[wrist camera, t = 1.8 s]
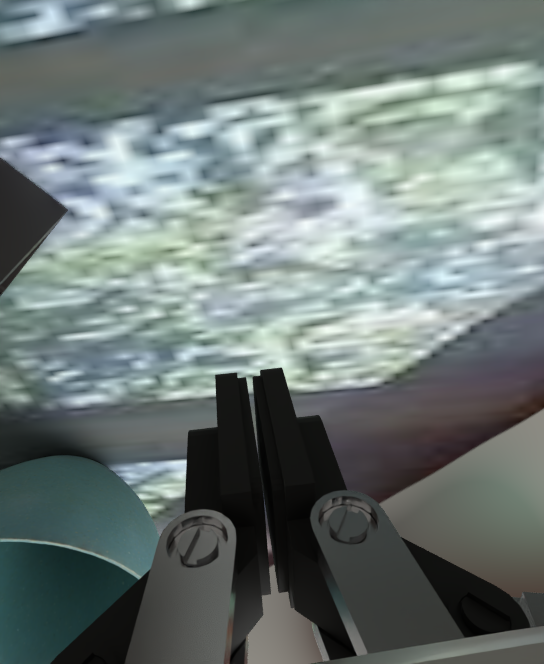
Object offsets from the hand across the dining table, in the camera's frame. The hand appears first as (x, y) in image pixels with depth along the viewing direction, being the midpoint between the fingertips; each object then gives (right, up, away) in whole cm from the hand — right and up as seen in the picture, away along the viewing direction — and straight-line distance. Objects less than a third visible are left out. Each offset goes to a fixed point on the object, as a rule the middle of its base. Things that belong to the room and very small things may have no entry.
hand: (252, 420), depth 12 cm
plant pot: (-16, -11, +27) cm, 34 cm away
